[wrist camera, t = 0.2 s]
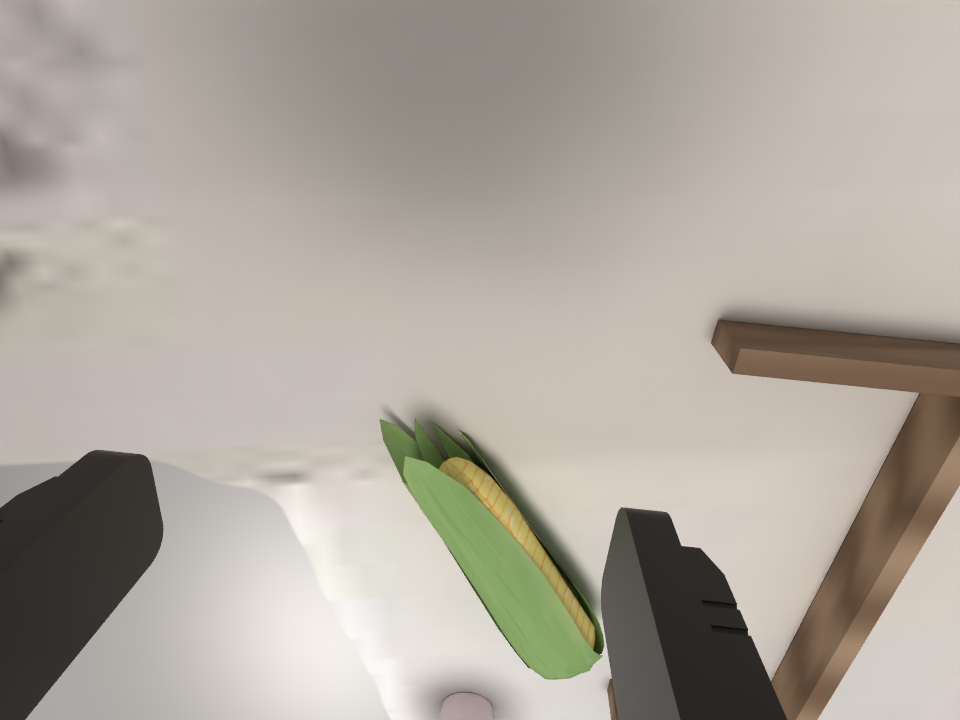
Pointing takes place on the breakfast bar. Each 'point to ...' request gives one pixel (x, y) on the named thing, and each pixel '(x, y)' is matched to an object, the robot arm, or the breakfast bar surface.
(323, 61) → the breakfast bar surface
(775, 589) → the breakfast bar surface
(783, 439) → the breakfast bar surface
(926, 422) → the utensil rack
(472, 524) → the edible corn
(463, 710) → the smoothie
